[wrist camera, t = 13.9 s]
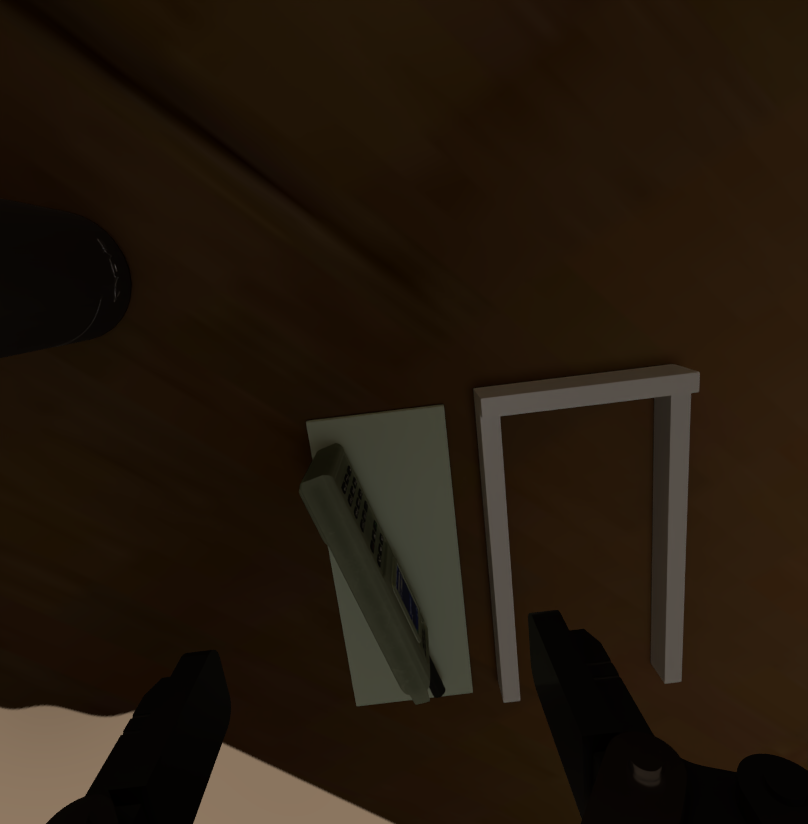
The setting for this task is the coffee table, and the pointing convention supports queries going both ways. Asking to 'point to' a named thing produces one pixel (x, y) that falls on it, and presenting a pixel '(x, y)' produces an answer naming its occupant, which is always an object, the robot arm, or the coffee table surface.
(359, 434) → the green mat
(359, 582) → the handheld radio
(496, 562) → the white u-shaped frame
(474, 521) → the coffee table surface
